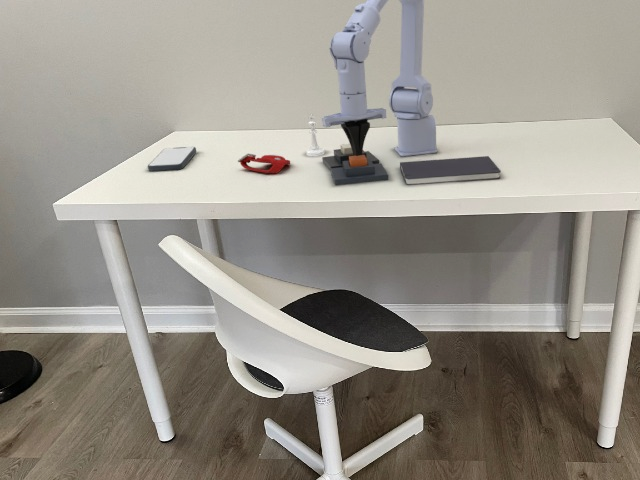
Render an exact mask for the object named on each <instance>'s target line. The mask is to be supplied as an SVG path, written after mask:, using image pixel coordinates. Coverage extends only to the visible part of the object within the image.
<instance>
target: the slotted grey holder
mask: <svg viewBox="0 0 640 480" xmlns="http://www.w3.org/2000/svg"><path fill="white" fill-rule="evenodd" d="M342 162H343V167H340V168H331V171H330V174H331V175H330V176H331V177H332V181H333V183H334V186H345V185H356V184H364V183H374V182H375V183H376V182H386V181H389V174H388V172H387V170H386V169H385V167H384V165H383V164H382V163H379V164H373V163H372V161H371V159H367V166H357V167H351V166H350V163H349V161H342Z"/></svg>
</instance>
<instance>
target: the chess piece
mask: <svg viewBox="0 0 640 480" xmlns="http://www.w3.org/2000/svg"><path fill="white" fill-rule="evenodd" d="M307 119H308V120H310V121H308V122H307V124H308V126H309V128H310V130H309V131H308V134H311V146H310V148H309V149H307V150H306V151H305V155H306V156H309V157H318V156H323V155H324V154H326V151H325V149H324V148H321V147H320V146H319V144H318V140H317V135H316V134H317V133H318V130H316V126H317V122H316V121H315V120H316V116H313V113H311V114H310V115H309V116H307Z"/></svg>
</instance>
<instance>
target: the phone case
mask: <svg viewBox="0 0 640 480" xmlns="http://www.w3.org/2000/svg"><path fill="white" fill-rule="evenodd" d="M196 153H197V148H196V147H195V146H181V147H167V148H164V149H162V150H161V151H160V153H158V154H157V156H156V157H155V158H153V159H152V161H151V162H150V163H149V164H148V165H147V169H148V170H147V171H149V172H161V171H163V172H164V171H180V170H183V169H184V168H185V167H186V166H187V164H188V163H189V162H190V160H191V159H192V158H193V157H194V155H196Z"/></svg>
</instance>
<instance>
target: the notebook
mask: <svg viewBox="0 0 640 480" xmlns="http://www.w3.org/2000/svg"><path fill="white" fill-rule="evenodd" d="M399 169H400V172H401V175H402V177H403V180H404V184H405V185H406V186H416V185H429V184H430V185H431V184H442V183H443V184H444V183H459V182H460V183H461V182H473V181H485V180H487V181H488V180H499V179H501V175H500V173H501V169H500V168H499V166H497V164H496V163H495V162H494V161H493V159H492V158H491V157H490V156H489V155H485V156H470V157H457V158H456V157H455V158H443V159H428V160H427V159H426V160H413V161H400V162H399Z"/></svg>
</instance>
